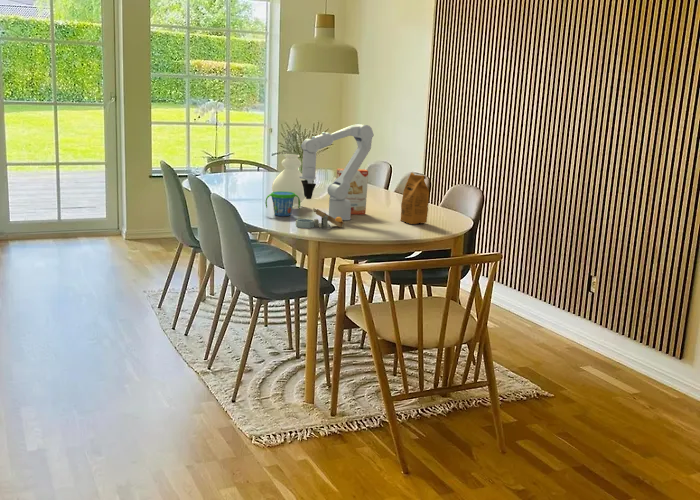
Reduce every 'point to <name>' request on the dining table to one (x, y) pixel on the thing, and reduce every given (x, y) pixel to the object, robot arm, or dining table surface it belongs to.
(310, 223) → the grey octagonal bowl
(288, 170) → the decorative vase
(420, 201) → the coffee package
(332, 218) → the lever
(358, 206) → the cracker box
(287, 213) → the snack cup
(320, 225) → the fulcrum
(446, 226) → the dining table surface
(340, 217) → the ball
